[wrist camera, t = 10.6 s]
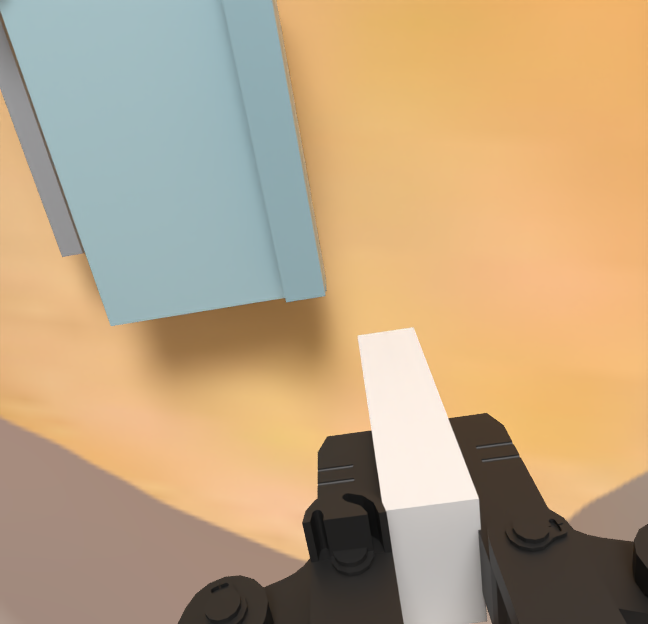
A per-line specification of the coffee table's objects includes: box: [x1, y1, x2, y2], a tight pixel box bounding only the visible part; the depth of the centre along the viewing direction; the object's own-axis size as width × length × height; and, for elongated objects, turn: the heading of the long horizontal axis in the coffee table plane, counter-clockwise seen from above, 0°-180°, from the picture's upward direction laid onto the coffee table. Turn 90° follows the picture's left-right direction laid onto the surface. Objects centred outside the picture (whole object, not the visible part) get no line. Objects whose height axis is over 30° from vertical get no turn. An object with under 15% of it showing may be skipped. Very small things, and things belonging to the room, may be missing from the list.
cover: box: [0, 0, 326, 326], centre depth 28 cm, size 13×19×8 cm
